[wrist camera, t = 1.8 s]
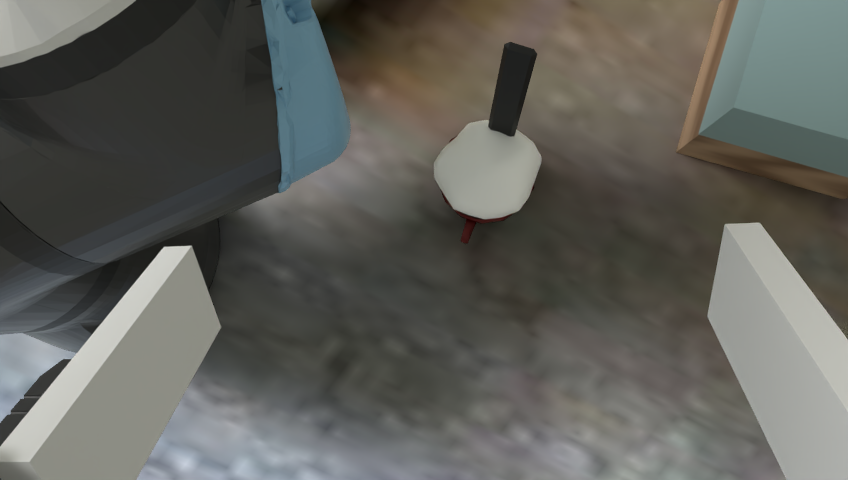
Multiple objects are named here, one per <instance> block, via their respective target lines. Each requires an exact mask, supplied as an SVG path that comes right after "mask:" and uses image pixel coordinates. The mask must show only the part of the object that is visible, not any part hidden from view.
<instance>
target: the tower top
mask: <svg viewBox="0 0 848 480" xmlns="http://www.w3.org/2000/svg"><path fill="white" fill-rule="evenodd" d="M698 135H702V136H705V137H709V138H712V139H716V140H719V141H723V142H726V143H730V144H733V145H737V146H740V147H744V148H747V149H750V150H754V151H757V152H761V153H764V154H768V155H771V156H775V157H778V158H782V159H785V160H789V161H792V162H796V163H799V164H803V165H806V166H810V167H813V168H817V169H820V170H823V171H827V172H830V173H834V174H837V175H841V176H844V177H848V0H739V1H738V4H737V8H736V11H735V14H734V18H733V21H732V24H731V28H730V31H729V34H728V38H727V41H726V44H725V47H724V51H723V54H722V57H721V61H720V64H719V67H718V71H717V74H716V77H715V81H714V84H713V87H712V91H711V94H710V97H709V100H708V104H707V107H706V110H705V114H704V117H703V120H702V124H701V127H700V130H699V134H698Z"/></svg>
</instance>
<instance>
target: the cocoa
mask: <svg viewBox="0 0 848 480" xmlns="http://www.w3.org/2000/svg"><path fill="white" fill-rule="evenodd" d="M536 56H537V53H536V52H535V50H534V49H531V48H528V47H525V46H522V45H518V44H515V43H512V42H509V43H506V44H505V45H504V49H503V54H502V59H501V64H500V69H499V74H498V79H497V84H496V89H495V94H494V99H493V104H492V109H491V114H490V119H489V120H482V121H477V122H472V123H468V124H467V125H466V127H465V128H464V129H463V130H462V131H461V132H460V133H459V135H457V136H456V137H454V138H453V139H451V140H450V142H449V143H448V144H447V145H446V146H445V147H444V148H443V149H442V151H441V152H440V154H439V155H438V157H437V158H436V160H435V162H434V179H435V180H436V182H437V184H438V185H439V187H440V189H441V192H442V195H443V197H444V200H445V202H446V203H447V204H448V205H449V206H450V207H451V208H452V209H453V210H454V211H455V212H456V213H457V214H459V215H460V216H461V217H463V218H466V219H467V220H466V223H465V227H464V230H463V233H462V237H461V242H463V243H468V241H469V239H470V236H471V234H472V231H473V229H474V226H475V224H476V222H478V223H481V224H482V223H489V222H497V221H503V220H505V219H506V218H508V217H509V216H511V215H512V214H514V213H515V212H517V211H519V210H520V209H521V208H522V207H523V205H524V204H525V202H526V201H527V199H528V198H529V196H530V194H531V192H532V190H533V189H534V182H535V179H536V176H537V173H538V171H539V168H540V165H541V155H540V153H539V151H538V150H537V148H536V146H535V144H534V142H533V141H531V140H530V139H529V138H527V137H526V136H525V135H524V134H522V133H521V132H520V131H518V130H517V125H518V122H519V118H520V114H521V111H522V107H523V104H524V100H525V96H526V93H527V89H528V85H529V82H530V78H531V75H532V71H533V67H534V64H535V60H536Z"/></svg>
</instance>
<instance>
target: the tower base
mask: <svg viewBox="0 0 848 480" xmlns="http://www.w3.org/2000/svg"><path fill="white" fill-rule="evenodd" d="M738 1H739V0H722V1H721V2H720V3H719V7H718V10H717V14H716V17H715V21H714V24H713V27H712V31H711V34H710V38H709V41H708V44H707V48H706V51H705V55H704V58H703V62H702V65H701V68H700V72H699V75H698V79H697V82H696V85H695V89H694V92H693V96H692V99H691V103H690V106H689V109H688V113H687V116H686V120H685V123H684V126H683V130H682V133H681V137H680V140H679V144H678V147H677V150H676V152H677V153H680V154H684V155H687V156H691V157H695V158H698V159H702V160H705V161H709V162H712V163H716V164H719V165H723V166H726V167H730V168H734V169H737V170H741V171H744V172H748V173H751V174H755V175H758V176H762V177H766V178H769V179H773V180H776V181H780V182H783V183H787V184H790V185H794V186H797V187H801V188H805V189H808V190H812V191H815V192H819V193H822V194H826V195H829V196H833V197H836V198H840V199H845V198H848V177H844V176H841V175H837V174H834V173H830V172H827V171H823V170H820V169H817V168H813V167H810V166H806V165H803V164H799V163H796V162H792V161H789V160H785V159H782V158H778V157H775V156H771V155H768V154H764V153H761V152H757V151H754V150H750V149H747V148H744V147H740V146H737V145H733V144H730V143H726V142H723V141H719V140H716V139H712V138H709V137H705V136H702V135H698V134H699V130H700V127H701V124H702V120H703V117H704V114H705V110H706V107H707V104H708V100H709V97H710V94H711V91H712V87H713V84H714V81H715V77H716V74H717V71H718V67H719V64H720V61H721V57H722V54H723V51H724V47H725V44H726V41H727V38H728V34H729V31H730V28H731V24H732V21H733V18H734V14H735V11H736V8H737V4H738Z"/></svg>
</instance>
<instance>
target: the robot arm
mask: <svg viewBox="0 0 848 480" xmlns="http://www.w3.org/2000/svg"><path fill="white" fill-rule="evenodd" d="M350 132H351V129H350V119H349V115H348V111H347V108H346V104H345V101H344V97H343V94H342V91H341V88H340V84H339V81H338V78H337V75H336V72H335V69H334V66H333V63H332V60H331V57H330V54H329V51H328V48H327V45H326V42H325V39H324V36H323V34H322V31H321V28H320V25H319V22H318V20H317V17H316V14H315V12H314V11H313V8H312V5H311V0H0V334H13V333H24V334H26V335H29V336H31V337H34V338H36V339H39V340H41V341H44V342H46V343H48V344H51V345H53V346H56V347H58V348H61V349H64V350H68V351H72V352H77V354H76V355H75V356H74V357H73V358H72V359H63V360H62V361H60V362H59V363H58V364H56V365H55V366H54V367H52V368H51V369H49V370H48V371H47V372H45V373H44V374H43V375H41V376H40V377H39V378H38V380H37V381H36V382H35V383H34V384H33V385H32V387H31V388H30V389H29V390H28V391H27V392H26V394H25V395H24V399H20V401H19V402H18V403H17V404H16V405H15V406H14V408H13V409H12V410H11V414H10V415H7V416H6V417H5V418H4V419H3V421H2V422H1V423H0V480H136V479H137V477H138V475H139V474H140V472H141V470H142V468H143V466H144V465H145V463H146V461H147V459H148V457H149V456H150V454H151V452H152V450H153V449H154V447H155V445H156V443H157V441H158V440H159V438H160V436H161V434H162V432H163V431H164V429H165V427H166V425H167V423H168V422H169V420H170V418H171V416H172V415H173V413H174V411H175V409H176V407H177V406H178V404H179V402H180V400H181V398H182V397H183V395H184V393H185V391H186V389H187V388H188V386H189V384H190V382H191V381H192V379H193V377H194V375H195V373H196V372H197V370H198V368H199V366H200V364H201V363H202V361H203V359H204V357H205V355H206V354H207V352H208V350H209V348H210V346H211V345H212V343H213V341H214V339H215V338H216V336H217V334H218V332H219V330H220V329H221V325H220V322H219V320H218V317H217V314H216V311H215V309H214V306H213V303H212V300H211V298H210V295H209V292H208V289H209V287H210V285H211V283H212V280H213V277H214V274H215V271H216V267H217V262H218V257H219V247H220V235H219V225H218V219H217V218H219V217H221V216H223V215H226V214H228V213H230V212H233V211H235V210H238V209H240V208H242V207H245V206H247V205H249V204H252V203H254V202H256V201H259V200H261V199H263V198H266V197H268V196H271V195H273V194H275V193H281V192H284V191H286V190H287V189H288V188H289V187H290V185H291V184H292V183H294V182H296V181H298V180H300V179H301V178H303V177H305V176H307V175H309V174H311V173H313V172H315V171H317V170H319V169H320V168H322V167H324V166H326V165H328V164H330V163H332V162H333V161H335V160H336V159H337V158H338V157H339V156H340V155H341V154H342V153H343V151H344V150H345V148H346V146H347V144H348V142H349V138H350ZM707 317H708V319H709V321H710V323H711V325H712V327H713V329H714V331H715V333H716V335H717V338H718V340H719V342H720V344H721V346H722V348H723V350H724V352H725V354H726V356H727V358H728V360H729V362H730V364H731V366H732V368H733V370H734V373H735V375H736V377H737V379H738V381H739V383H740V385H741V387H742V389H743V391H744V393H745V395H746V397H747V399H748V401H749V403H750V406H751V408H752V410H753V412H754V414H755V416H756V418H757V420H758V422H759V424H760V426H761V428H762V430H763V432H764V434H765V436H766V438H767V441H768V443H769V445H770V447H771V449H772V451H773V453H774V455H775V457H776V459H777V461H778V463H779V465H780V467H781V469H782V471H783V474H784V476H785V478H786V480H848V339H847V338H846V337H845V335H844V334H843V333H842V331H841V330H840V329H839V327H838V326H837V325H836V323H835V322H834V321H833V319H832V318H831V317H830V315H829V314H828V313H827V311H826V310H825V309H824V307H823V306H822V305H821V303H820V302H819V301H818V299H817V298H816V297H815V295H814V294H813V293H812V291H811V290H810V289H809V287H808V286H807V285H806V283H805V282H804V281H803V279H802V278H801V277H800V275H799V274H798V273H797V271H796V270H795V269H794V267H793V266H792V265H791V263H790V262H789V261H788V259H787V258H786V257H785V256H784V254H783V253H782V252H781V250H780V249H779V248H778V246H777V245H776V244H775V242H774V241H773V240H772V238H771V237H770V236H769V234H768V233H767V232H766V230H765V229H764V228H763V226H762V225H761V224H760V223H739V224H725V226H724V231H723V236H722V241H721V247H720V252H719V257H718V262H717V268H716V273H715V278H714V283H713V289H712V294H711V299H710V304H709V309H708V315H707Z"/></svg>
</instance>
